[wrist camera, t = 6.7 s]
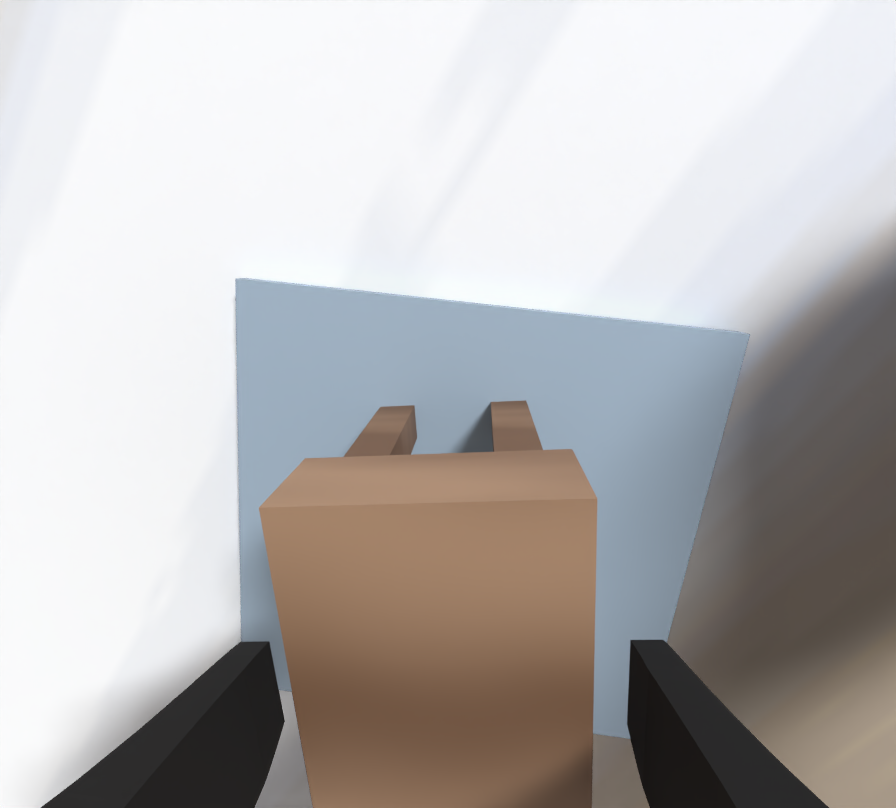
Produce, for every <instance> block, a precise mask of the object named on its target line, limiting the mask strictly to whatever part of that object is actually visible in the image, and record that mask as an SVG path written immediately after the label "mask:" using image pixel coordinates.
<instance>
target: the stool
mask: <svg viewBox="0 0 896 808" xmlns="http://www.w3.org/2000/svg"><path fill="white" fill-rule="evenodd" d="M491 420H492V441H493V452H470V453H442V454H413V455H411V453H412V450H413V448H414V445H415V442H416V440H417V430H416V418H415V406H414V405H409V406H386V407H380V408H379V409H378V411H377V412H376V413H375V415H374V416H373V417H372V419H371V420H370V421H369V423H368V424H367V425H366V427H365V428H364V430H363V431H362V432H361V434H360V435H359V436H358V438H357V439H356V440H355V442H354V443H353V444H352V446H351V447H350V448H349V450H348V451H347V452H346V454H345V455H344V457H328V458H305V459H304V460H303V461H302V462H301V463H300V464H299V465H298V466H297V467H296V468H295V470H294V471H293V472H292V473H291V474H290V475H289V476H288V477H287V478H286V479H285V480H284V481H283V482H282V483H281V484H280V486H279V487H278V488H277V489H276V490H275V491H274V492H273V493H272V494H271V495H270V496H269V497H268V498H267V499H266V500H265V502H264V503H263V504H262V505H261V506H260V507H259V512H260V518H261V523H262V529H263V534H264V540H265V545H266V551H267V556H268V562H269V567H270V573H271V578H272V584H273V590H274V595H275V601H276V606H277V612H278V617H279V623H280V628H281V634H282V639H283V645H284V650H285V656H286V661H287V667H288V672H289V678H290V683H291V689H292V695H293V700H294V706H295V711H296V717H297V722H298V728H299V733H300V739H301V744H302V750H303V755H304V761H305V766H306V772H307V777H308V783H309V788H310V794H311V799H312V805H313V808H592V759H593V707H594V654H595V602H596V549H597V497H596V495H595V493H594V491H593V489H592V487H591V485H590V483H589V481H588V479H587V477H586V475H585V473H584V471H583V469H582V467H581V465H580V463H579V461H578V459H577V457H576V455H575V453H574V451H573V450H572V449H555V450H543V448H542V445H541V442H540V439H539V436H538V433H537V431H536V428H535V425H534V422H533V419H532V416H531V413H530V410H529V407H528V404H527V402H526V400H524V401H501V402H491Z"/></svg>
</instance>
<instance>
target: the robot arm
mask: <svg viewBox="0 0 896 808" xmlns="http://www.w3.org/2000/svg"><path fill="white" fill-rule="evenodd" d="M284 722H285V721H284V715H283V710H282V705H281V700H280V694H279V689H278V684H277V679H276V673H275V668H274V663H273V658H272V652H271V647H270V642H269V641H253V642H240V643H239V644H237V645H236V646H235V647H234V648H233V649H231V650H230V651H229V652H228V653H227V654H225V655H224V656H223V657H222V658H221V659H220V660H218V661H217V662H216V663H215V664H214V665H213V666H212V667H211V668H209V669H208V670H207V671H206V672H205V673H204V674H203V675H201V676H200V677H199V678H198V679H197V680H196V681H195V682H194V683H192V684H191V685H190V686H189V687H188V688H187V689H186V690H184V691H183V692H182V693H181V694H180V695H179V696H178V697H176V698H175V699H174V700H173V701H172V702H171V703H169V704H168V705H167V706H166V707H165V708H164V709H163V710H161V711H160V712H159V713H158V714H157V715H156V716H154V717H153V718H152V719H151V720H150V721H149V722H147V723H146V724H145V725H144V726H143V727H142V728H140V729H139V730H138V731H137V732H136V733H134V734H133V735H132V736H131V737H130V738H128V739H127V740H126V741H125V742H123V743H122V744H121V745H120V746H118V747H117V748H116V749H115V750H113V751H112V752H111V753H110V754H109V755H107V756H106V757H105V758H104V759H102V760H101V761H100V762H99V763H97V764H96V765H95V766H94V767H93V768H91V769H90V770H89V771H88V772H86V773H85V774H84V775H83V776H81V777H80V778H79V779H78V780H76V781H75V782H74V783H73V784H71V785H70V786H69V787H67V788H66V789H65V790H63V791H62V792H61V793H60V794H58V795H57V796H56V797H54V798H53V799H52V800H50V801H49V802H48V803H46V804H45V805H44V806H42V807H41V808H254V807H255V805H256V802H257V800H258V798H259V796H260V793H261V791H262V788H263V786H264V784H265V781H266V779H267V776H268V773H269V770H270V767H271V764H272V760H273V757H274V754H275V751H276V748H277V745H278V741H279V738H280V735H281V731H282V728H283V725H284ZM627 726H628V730H629V735H630V739H631V743H632V747H633V751H634V755H635V759H636V763H637V767H638V771H639V774H640V778H641V782H642V786H643V789H644V792H645V795H646V798H647V801H648V803H649V806H650V808H829V807H828V806H827V805H825V804H824V803H823V802H822V801H821V800H820V799H819V798H818V797H817V796H816V795H815V794H814V793H813V792H811V791H810V790H809V789H808V788H807V787H806V786H805V785H804V784H803V783H802V782H801V781H800V780H799V779H798V778H797V777H795V776H794V775H793V774H792V773H791V772H790V771H789V770H788V769H787V768H786V767H785V766H784V765H783V764H782V763H781V762H780V761H779V760H778V759H777V758H776V757H775V756H774V755H773V754H772V753H771V752H770V751H769V750H768V749H767V748H766V747H765V746H764V745H763V744H762V743H761V742H760V741H759V740H758V739H757V738H756V737H755V736H754V735H753V734H752V733H751V732H750V731H749V730H748V729H747V728H746V727H745V726H744V725H743V724H742V723H741V722H740V721H739V720H738V719H737V718H736V717H735V716H734V715H733V714H732V713H731V712H730V711H729V710H728V709H727V708H726V707H725V706H724V704H723V703H722V702H721V701H720V700H719V699H718V698H717V697H716V696H715V695H714V694H713V693H712V692H711V691H710V690H709V688H708V687H707V686H706V685H705V684H704V683H703V682H702V681H701V680H700V679H699V678H698V677H697V675H696V674H695V673H694V672H693V671H692V670H691V669H690V668H689V667H688V666H687V664H686V663H685V662H684V661H683V660H682V659H681V658H680V657H679V656H678V655H677V653H676V652H675V651H674V650H673V649H672V648H671V647H670V646H669V645H668V644H667V643H666V642H665V641H664V640H630V664H629V688H628V712H627Z"/></svg>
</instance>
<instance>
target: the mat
mask: <svg viewBox="0 0 896 808" xmlns="http://www.w3.org/2000/svg"><path fill="white" fill-rule="evenodd" d="M749 336H750V334H746V333H742V332H737V331H727V330H718V329H709V328H700V327H691V326H681V325H672V324H663V323H654V322H644V321H635V320H626V319H617V318H608V317H598V316H589V315H580V314H571V313H561V312H552V311H543V310H534V309H525V308H515V307H506V306H497V305H488V304H478V303H469V302H460V301H451V300H442V299H432V298H423V297H414V296H405V295H395V294H386V293H377V292H368V291H359V290H349V289H340V288H331V287H322V286H312V285H303V284H294V283H285V282H275V281H266V280H257V279H248V278H238V279H236V339H237V401H238V462H239V523H240V584H241V642H253V641H269V642H270V647H271V652H272V658H273V663H274V668H275V673H276V679H277V684H278V689H279V690H284V691H291V692H292V689H291V683H290V678H289V672H288V667H287V661H286V656H285V650H284V645H283V639H282V634H281V628H280V623H279V617H278V612H277V606H276V601H275V595H274V590H273V584H272V578H271V573H270V567H269V562H268V556H267V551H266V545H265V540H264V534H263V529H262V523H261V518H260V512H259V507H260V506H261V505H262V504H263V503H264V502H265V500H266V499H267V498H268V497H269V496H270V495H271V494H272V493H273V492H274V491H275V490H276V489H277V488H278V487H279V486H280V484H281V483H282V482H283V481H284V480H285V479H286V478H287V477H288V476H289V475H290V474H291V473H292V472H293V471H294V470H295V468H296V467H297V466H298V465H299V464H300V463H301V462H302V461H303V460H304V459H305V458H328V457H344V455H345V454H346V452H347V451H348V450H349V448H350V447H351V446H352V444H353V443H354V442H355V440H356V439H357V438H358V436H359V435H360V434H361V432H362V431H363V430H364V428H365V427H366V425H367V424H368V423H369V421H370V420H371V419H372V417H373V416H374V415H375V413H376V412H377V411H378V409H379V408H380V407H386V406H409V405H414V406H415V418H416V430H417V440H416V442H415V445H414V448H413V450H412V453H411V455H413V454H442V453H470V452H493V441H492V420H491V402H501V401H524V400H526V402H527V404H528V407H529V410H530V413H531V416H532V419H533V422H534V425H535V428H536V431H537V433H538V436H539V439H540V442H541V445H542V448H543V450H555V449H572V450H573V451H574V453H575V455H576V457H577V459H578V461H579V463H580V465H581V467H582V469H583V471H584V473H585V475H586V477H587V479H588V481H589V483H590V485H591V487H592V489H593V491H594V493H595V495H596V497H597V549H596V602H595V654H594V707H593V734H599V735H606V736H613V737H620V738H627V739H630V735H629V730H628V726H627V712H628V688H629V664H630V640H664V641H665V642H666V643H667V640H668V636H669V632H670V628H671V625H672V621H673V617H674V614H675V610H676V606H677V603H678V599H679V595H680V591H681V588H682V584H683V580H684V577H685V573H686V569H687V566H688V562H689V558H690V555H691V551H692V547H693V543H694V540H695V536H696V532H697V529H698V525H699V521H700V518H701V514H702V510H703V506H704V503H705V499H706V495H707V492H708V488H709V484H710V481H711V477H712V473H713V469H714V466H715V462H716V458H717V455H718V451H719V447H720V444H721V440H722V436H723V432H724V429H725V425H726V421H727V418H728V414H729V410H730V407H731V403H732V399H733V395H734V392H735V388H736V384H737V381H738V377H739V373H740V370H741V366H742V362H743V359H744V355H745V351H746V347H747V344H748V340H749Z"/></svg>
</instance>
